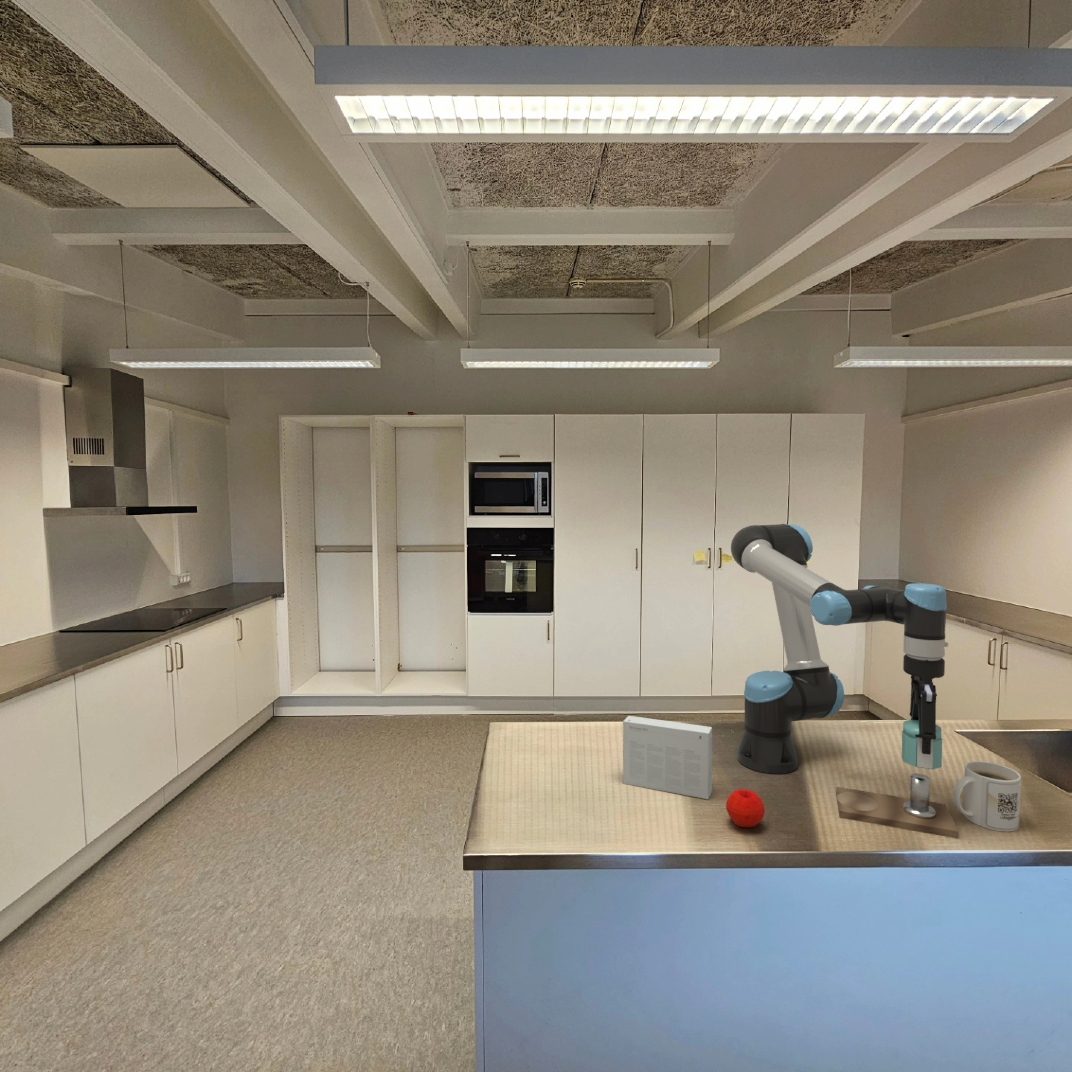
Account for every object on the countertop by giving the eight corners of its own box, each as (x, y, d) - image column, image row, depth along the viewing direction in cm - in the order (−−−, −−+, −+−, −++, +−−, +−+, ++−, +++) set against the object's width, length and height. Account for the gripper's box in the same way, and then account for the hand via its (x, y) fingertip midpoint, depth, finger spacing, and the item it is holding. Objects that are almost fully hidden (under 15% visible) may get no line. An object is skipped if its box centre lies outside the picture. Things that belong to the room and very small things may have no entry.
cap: (905, 765, 130) (906, 729, 130) (900, 753, 137) (900, 718, 136) (943, 771, 128) (944, 734, 127) (936, 757, 134) (937, 722, 134)
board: (838, 817, 134) (838, 810, 134) (835, 792, 145) (835, 786, 145) (958, 838, 125) (958, 831, 125) (945, 810, 136) (945, 803, 136)
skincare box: (712, 790, 147) (713, 726, 146) (709, 800, 142) (709, 734, 141) (628, 774, 156) (628, 714, 155) (622, 783, 151) (621, 721, 150)
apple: (743, 838, 126) (743, 804, 126) (717, 820, 133) (717, 787, 133) (772, 829, 129) (773, 796, 129) (745, 812, 137) (746, 780, 136)
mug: (1022, 838, 125) (1025, 786, 124) (952, 822, 131) (953, 773, 131) (1015, 815, 134) (1017, 766, 133) (949, 801, 140) (951, 755, 139)
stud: (905, 815, 131) (906, 780, 131) (901, 802, 137) (902, 769, 136) (938, 821, 129) (939, 785, 129) (932, 807, 135) (933, 773, 134)
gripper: (955, 670, 120) (952, 782, 122) (934, 646, 138) (932, 745, 140) (911, 666, 123) (908, 776, 125) (896, 644, 141) (894, 740, 143)
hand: (921, 759), depth 132 cm, fingers closed on cap, 7 cm apart
